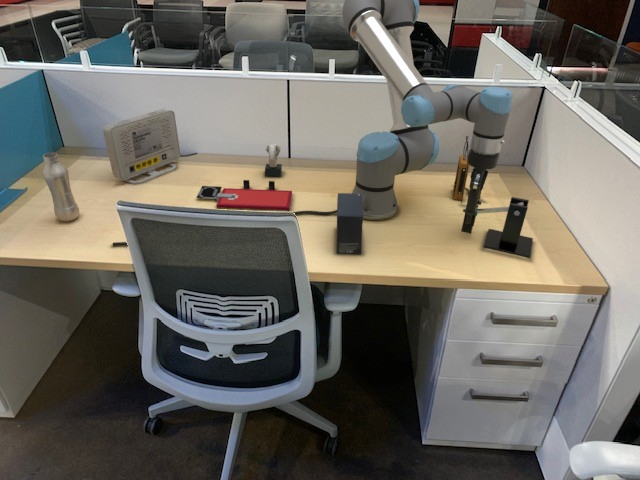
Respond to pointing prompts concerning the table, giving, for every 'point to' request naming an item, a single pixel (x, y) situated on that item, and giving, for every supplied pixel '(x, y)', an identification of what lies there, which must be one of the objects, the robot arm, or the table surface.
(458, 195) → the multimeter
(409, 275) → the table surface
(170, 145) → the network device
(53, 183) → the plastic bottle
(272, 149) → the white figurine
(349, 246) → the small box
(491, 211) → the ball knob joystick
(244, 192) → the red board with handle
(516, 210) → the lever base
